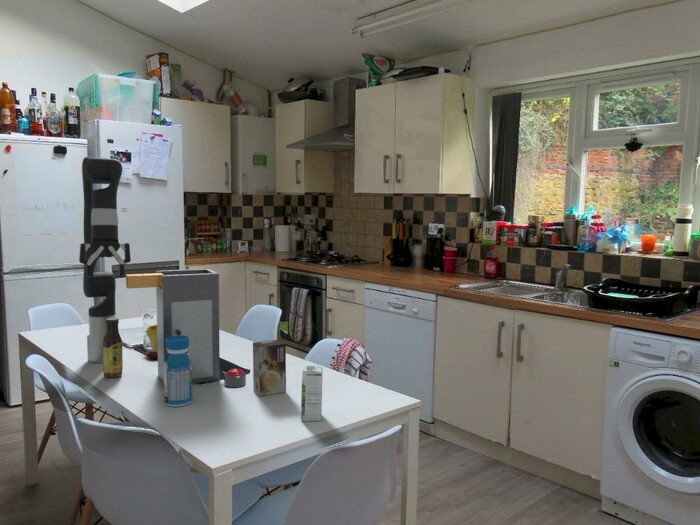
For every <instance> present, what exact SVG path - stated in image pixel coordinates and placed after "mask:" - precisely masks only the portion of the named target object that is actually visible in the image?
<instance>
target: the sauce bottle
mask: <svg viewBox="0 0 700 525" xmlns="http://www.w3.org/2000/svg"><path fill="white" fill-rule="evenodd" d="M106 324H107V330H106V331H107V333H106V335H105V336H104V338H103V363H102V372H103V377H104V378H107V379H113V378H119V377H121V376H122V375H123V369H124V368H123V366H124V364H123V340H122V338H121V335H120V332H119V318H118V317H116V318H108V319H106Z"/></svg>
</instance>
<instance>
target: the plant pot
mask: <svg viewBox="0 0 700 525" xmlns="http://www.w3.org/2000/svg"><path fill="white" fill-rule="evenodd" d="M146 335H147V337H148V339H149V344H150V348H151V351H152V350H153V351H157V352H158V344H157V324H154V325H149V326H147V329H146Z"/></svg>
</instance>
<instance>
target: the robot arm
mask: <svg viewBox="0 0 700 525" xmlns="http://www.w3.org/2000/svg"><path fill="white" fill-rule="evenodd" d="M81 174H82V175H81V176H82V177H81V178H82V190H83V243H80V245H79V263H80V264H83V275H82V276H83V278H82V281H83V282H82V288H83V293H84V296H85V297H86V298H101V297H102V298H104V299H103V300H102V301H101V302H98V303H97V304H95V305H92V306H90V307H89V308H88V329H89V330H88V332H89V335H86V342H87V343H86V346H87V347H86V349H87V351H86V352H87V361H88V362H91V363H96V364H97V363H98V364H103V338H104V336H105V335H106V333H107V331H106V330H107V324H106V319H108V318H117V317H116V316H117V314H116V282H117V281H116V276H115V274H114V273H113V271H98V272H97V271H95V268H96V264H97V262H98V260H99V258H114V260H116V262H117V263H118V277H119V278H122V277H123V276H124V275H125V265H126V264H128V263H131V260H132V258H131V251H130V250H131V249H130V248H131V246H130V243H128V242H127V243H126V242H125V243H120V242H119V217H118V210H117V208H118V206H117V205H118V204H117V203H118V201H117V199H118V198H117V195H118V190H119V184H120V182H121V181H120V180H121V178H122V175H123V165H122V163H121V162H120V160H118V159H116V158H109V157H96V156H95V157H94V156H85V157H84V158H83V160H82V163H81ZM93 184H97V185H98V184H99V185H108V186H107V187H104V188H98V189H94V187H93ZM120 248H121V250H122V251H123V252H124V259H123V257H121V255H120V254H119V253H118V251H119V249H120Z"/></svg>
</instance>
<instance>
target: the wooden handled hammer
mask: <svg viewBox="0 0 700 525" xmlns="http://www.w3.org/2000/svg"><path fill="white" fill-rule="evenodd" d="M197 274H205V273H197ZM161 275H163V274H162V273H156V272H154V273H135V274H134V273H133V274H129V273H128V274H127V273H126V274H125V281H126V282H125V283H126V288H127V289H142V288H143V289H145V288H146V289H147V288H156V287H162V277H161ZM173 275H181V274H173Z"/></svg>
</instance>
